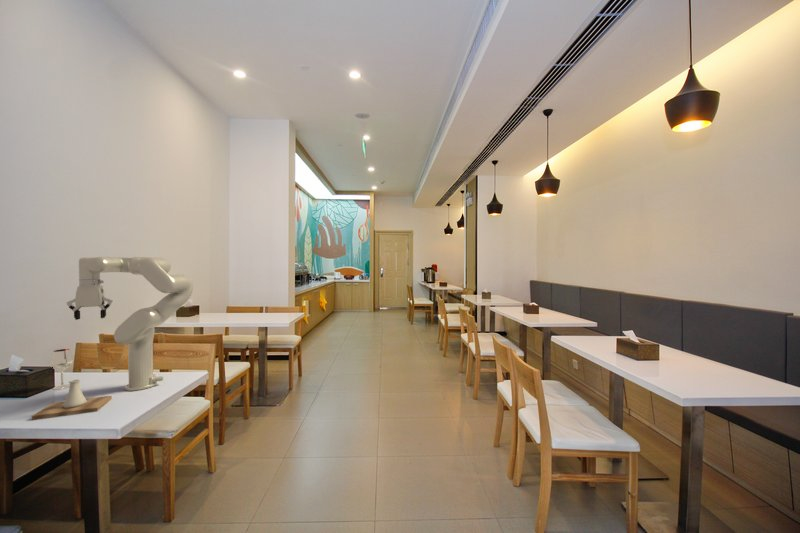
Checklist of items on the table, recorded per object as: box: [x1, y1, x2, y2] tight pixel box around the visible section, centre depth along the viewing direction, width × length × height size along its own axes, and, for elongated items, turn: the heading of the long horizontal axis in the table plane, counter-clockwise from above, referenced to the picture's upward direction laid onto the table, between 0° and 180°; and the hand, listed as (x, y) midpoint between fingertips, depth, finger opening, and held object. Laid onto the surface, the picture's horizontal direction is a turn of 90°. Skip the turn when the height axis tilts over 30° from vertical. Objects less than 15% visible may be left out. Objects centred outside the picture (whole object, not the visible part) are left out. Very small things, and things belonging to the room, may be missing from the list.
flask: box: [62, 378, 87, 408], centre depth 142 cm, size 7×7×10 cm
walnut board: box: [31, 395, 113, 421], centre depth 142 cm, size 20×14×2 cm
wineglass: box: [49, 348, 74, 390], centre depth 169 cm, size 8×8×18 cm
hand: (90, 318), depth 167 cm, fingers open, 9 cm apart
